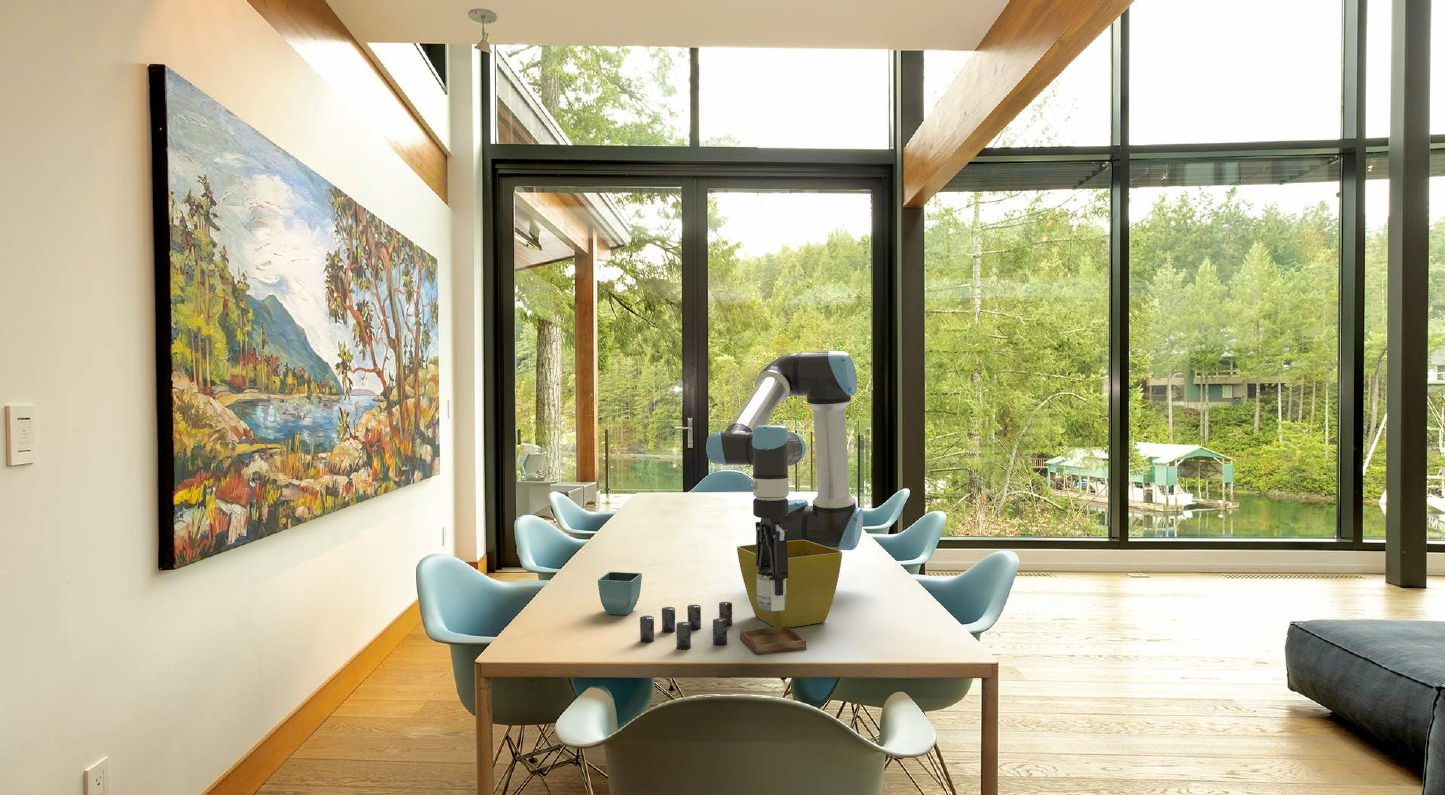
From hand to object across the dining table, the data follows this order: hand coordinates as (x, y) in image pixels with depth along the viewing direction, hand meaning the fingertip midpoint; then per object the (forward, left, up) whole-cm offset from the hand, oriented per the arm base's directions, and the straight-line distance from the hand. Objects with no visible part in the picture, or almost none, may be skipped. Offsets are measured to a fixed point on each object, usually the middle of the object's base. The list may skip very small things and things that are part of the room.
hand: (771, 605), depth 168 cm
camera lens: (0, 0, -1) cm, 1 cm away
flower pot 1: (+27, -35, -8) cm, 45 cm away
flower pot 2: (-10, -16, -8) cm, 21 cm away
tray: (0, 0, -8) cm, 8 cm away
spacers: (+15, -10, -8) cm, 20 cm away
